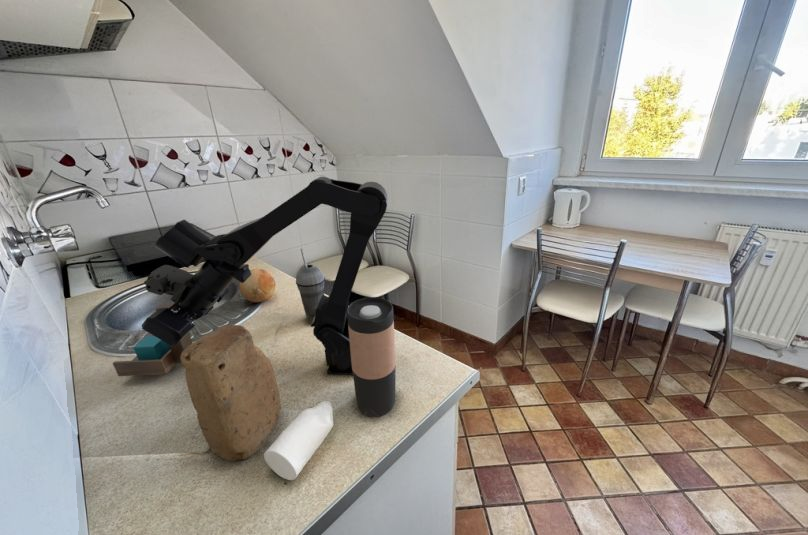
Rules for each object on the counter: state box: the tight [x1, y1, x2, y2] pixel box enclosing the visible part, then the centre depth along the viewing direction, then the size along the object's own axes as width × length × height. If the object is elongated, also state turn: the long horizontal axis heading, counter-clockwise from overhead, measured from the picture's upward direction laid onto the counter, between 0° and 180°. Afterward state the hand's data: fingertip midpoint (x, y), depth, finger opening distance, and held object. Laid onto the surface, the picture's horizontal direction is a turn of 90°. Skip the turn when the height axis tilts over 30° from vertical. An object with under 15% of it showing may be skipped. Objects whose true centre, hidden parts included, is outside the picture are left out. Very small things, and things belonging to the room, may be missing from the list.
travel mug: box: [347, 296, 397, 418], centre depth 56 cm, size 8×8×20 cm
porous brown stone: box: [180, 324, 282, 462], centre depth 50 cm, size 11×8×20 cm
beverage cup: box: [295, 248, 326, 324], centre depth 83 cm, size 7×7×20 cm
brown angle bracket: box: [112, 300, 193, 377], centre depth 65 cm, size 12×9×13 cm
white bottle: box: [263, 400, 334, 481], centre depth 51 cm, size 6×12×6 cm, turn 156°
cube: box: [132, 335, 170, 360], centre depth 66 cm, size 4×4×4 cm
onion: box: [239, 268, 276, 303], centre depth 95 cm, size 10×10×10 cm
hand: (170, 332), depth 65 cm, fingers closed on brown angle bracket, 3 cm apart
